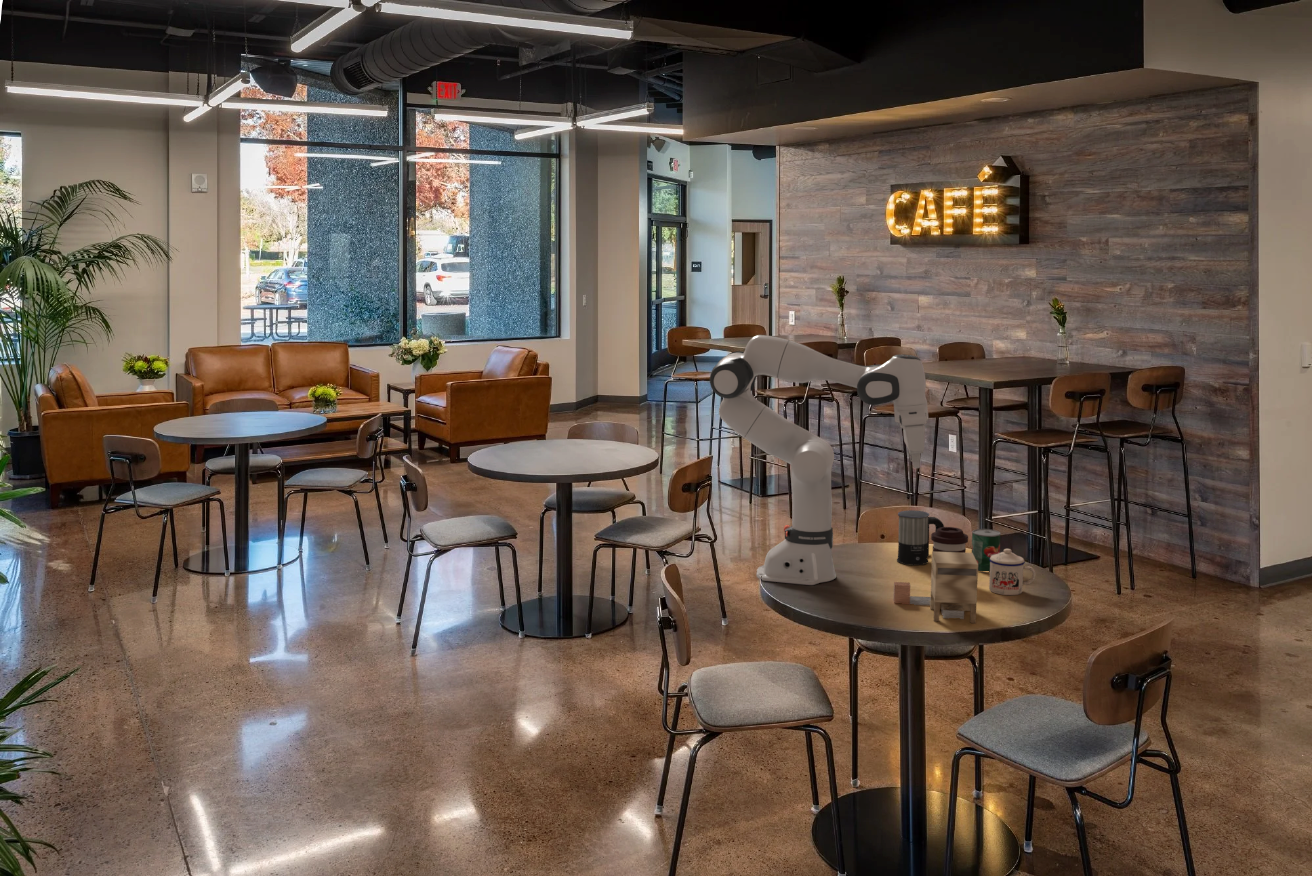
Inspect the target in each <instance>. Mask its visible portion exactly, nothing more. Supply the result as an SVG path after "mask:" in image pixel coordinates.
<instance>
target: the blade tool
mask: <svg viewBox="0 0 1312 876" xmlns="http://www.w3.org/2000/svg"><path fill="white" fill-rule="evenodd" d="M930 599H931V596H915V595H913V596H912V595H911V584H910V582H907V581H905V582H904V581H894V582H893V599H892V600H893V603H902V604H901V605H910V604H914V606H930Z"/></svg>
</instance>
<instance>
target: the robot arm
mask: <svg viewBox="0 0 1312 876" xmlns="http://www.w3.org/2000/svg"><path fill="white" fill-rule="evenodd" d="M710 372H711V373H710V374H709V375H710V376H709V385H710V388H711V389H712V391H713V393H715V394H716V395H717V396H718V397H720V398H722V400H721V402H720V404H719V407H718V414H719V418H720V419H721V420H722V421H723V422H724V423H725V424H726V425H727V426H728V427H729V428H730V429H731V430H733V431H734V432H735V433H737V434H738V436H740V437H742V438H743V439H745V440H747V441H748V442H750V443H751V444H752V445H754V446H755V447H756V448H759V449H760V450H762V452H764V453H766V454H767V455H770V456H773V457H775V458H777V459H780V461H781V460H782V461H783V462H785V463H787V464H789V465H790V478H791V479H790V480H791V483H790V484H791V495H792V496H791V497H792V498H791V499H792V500H791V501H792V508H791V509H792V511H791V513H792V515H791V516H792V519H791V521H792V523H791V525H789V524H786V525H785V526H784V527H783V532H784V540H782V541H781V542H779V543H778V544H777V545H775V546H773V547H772V548H770V549H769V550H768V552H767V553H766V556H765V558H764V563H763V565H760V566H758V568H757V569H756V578H757V579H759V580H761V576H762V580H761V581H763V582H764V581H766V582H775V583H776V582H777V583H786V584H795V585H804V586H805V585H807V586H814V585H817V584H819V583H826V582H830V581H833V580H834V579H836V577H837V574H836V571H835V570H836V569H835V566H834V560H833V545H834V530H833V526H832V521H833V519H832V515H833V513H832V512H833V511H832V509H833V504H832V503H833V498H832V469H833V465H834V461H835V452H834V449H833V446H831V444H830V443H829V442H828V441H827V440H825V439H823V438H822V437H820V436H818V435H816V434H815V433H812V432H811V431H809V430H807V429H805V428H803V427H801V426H800V425H798V424H796V423H793V422H792V421H790V420H788V419H787V418H786V417H784V416H783V415H781V414H779V413H778V412H776V411H775V410H773V409H771V408H770V407H769V406H767V405H765V403H763V402H761V401H759V400H758V399H756V397H755V396H754V395H753V394H752V391H753V390H754V386H755V383H756V379H757V376H761V375H762V376H769V377H772V378H774V379H778V380H781V381H785V382H790V383H796V384H797V383H799V384H804V383H805V384H806V383H810V382H815V381H829V382H833V383H838V384H840V385H841V384H842V385H844V386H849V387H851V388H852V387H853V388H855V389H856V392H857V395H858V397H859V399H860V400H861V401H862V402H863V403H865V404H867V405H870V406H881V405H883V404H886V403H890V402H893V412H894V422H895V423H898V424H899V427H900V428H901V429H903V431H902V432H903V433H902V434H903V441H904V443H905V445H906V447H907V450H908V453H909V455H908V456H909V461H910V462H912V467H913V468H914V469H921V454H923V453H924V452H925V440H926V439H925V438H926V437H925V431H926V429H925V425H927V423H928V420H929V411H928V410H929V407H928V400H927V397H926V387H927V381H926V372H925V367H924V364H923V361H922V359H921V358H920V357H918V356H916V355H913V354H905V353H904V354H895V355H893V356H892V357H891V358H890V359H889V360H887V361H885V362H884V363H883V364H873V365H860V364H855V363H852V362H850V361H849V362H848V361H845V360H842V359H841V360H840V359H837V358H834V357H831V356H828V355H826V354H823V353H822V352H819V351H817V350H815V349H813V348H811V347H809V346H807V345H805V344H803V343H800V342H796V341H793V340H790V339H786V338H782V337H779V336H778V337H777V336H772V335H763V334H758V335H757V334H756V335H755V336H753V337H751V338H750V340H749V341H748V342H747V343H746V345H745V349H744V351H740V350H737V351H732V352H730V353H728V354H727V355H725V356H724V357H722V358H721V359H720V360H719V361H718V362H717V364H715V366H714V367H713V368H712V370H711V371H710Z"/></svg>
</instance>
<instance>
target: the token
mask: <svg viewBox="0 0 1312 876" xmlns="http://www.w3.org/2000/svg"><path fill="white" fill-rule="evenodd" d="M940 611H941V616H942V615H943V616H942V618H943V619H949V618H960V619H959V620H965V611H964V609H963V607H962V605H948V604H941V610H940Z"/></svg>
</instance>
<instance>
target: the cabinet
mask: <svg viewBox="0 0 1312 876" xmlns="http://www.w3.org/2000/svg"><path fill="white" fill-rule="evenodd" d="M978 575H979V572H978V563H977V561H976V559H975V557H974V555H973V553H972V552H965V553H961V552H933V550H932V552H931V575H930V577H931V578H930V597H931V599H930V605H929V606H930V607H929V608H930V610H933V621H934V622H937V621H939V622H940V611H941V610H940V609H941V604H948V605H962V607H963V609H964V612H970V615H969V616H970V617H969V623H970V624H976V623H977V622H976V621H977V601H978V600H977V599H978Z"/></svg>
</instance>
